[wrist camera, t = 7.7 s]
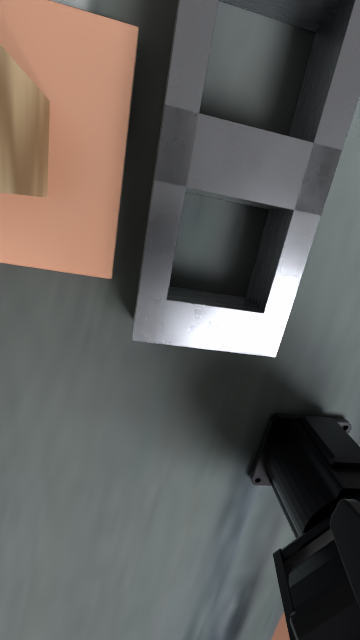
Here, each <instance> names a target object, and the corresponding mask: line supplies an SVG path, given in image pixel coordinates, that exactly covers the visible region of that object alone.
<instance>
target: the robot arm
mask: <svg viewBox="0 0 360 640" xmlns="http://www.w3.org/2000/svg"><path fill="white" fill-rule="evenodd" d="M277 420H279V421H278V422H276V421H277ZM351 427H352V426H351V424H350V423H349V422H348V421H347V420H346V419H336V418H330V417H317V416H299V415H286V414H274V415H273V416H271V418H270V420H269V422H268V425H267V428H266V431H265V434H264V437H263V440H262V443H261V446H260V449H259V452H258V455H257V458H256V461H255V464H254V467H253V469H252V472H251V475H250V478H251V481H252V483H253V484H254V485H268V486H272V488H273V490H274V492H275V494H276V497H277V499H278V501H279V503H280V505H281V507H282V509H283V512H284V514H285V516H286V518H287V520H288V522H289V524H290V527H291V529H292V531H293V533H294V535H295V537H296V539H295V540H294V541H293V542H291V543H290V544H288V545H287V546H286V547H284V548H283V549H279V550H277V551H276V552H274V553H273V557H274V562H275V567H276V573H277V578H278V583H279V588H280V593H281V598H282V602H283V607H284V612H285V617H286V623H287V627H288V632H289V636H290V640H360V447H359V446H358V445H357V443H356V442H355V441H354V440H353V439H352V438H351V437H350V436H349V435H348V434H349V432H350V430H351Z"/></svg>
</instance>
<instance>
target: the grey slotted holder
mask: <svg viewBox="0 0 360 640" xmlns="http://www.w3.org/2000/svg"><path fill="white" fill-rule="evenodd" d="M219 1H222V2H225V3H228V4H231V5H234V6H237V7H240V8H243V9H246V10H249V11H252V12H255V13H258V14H261V15H264V16H267V17H270V18H273V19H276V20H279V21H282V22H285V23H288V24H291V25H295V26H298V27H301V28H304V29H307V30H310V31H313V32H316V33H315V37H314V41H313V45H312V48H311V52H310V56H309V60H308V63H307V67H306V71H305V75H304V78H303V82H302V86H301V90H300V94H299V97H298V101H297V105H296V109H295V112H294V116H293V120H292V124H291V128H290V131H289V135H288V136H285V135H281V134H278V133H274V132H270V131H266V130H262V129H258V128H254V127H251V126H247V125H243V124H239V123H235V122H231V121H227V120H223V119H220V118H216V117H212V116H208V115H204V114H200V113H199V111H200V105H201V99H202V94H203V88H204V82H205V76H206V71H207V65H208V59H209V53H210V48H211V42H212V36H213V30H214V25H215V19H216V13H217V7H218V2H219ZM359 96H360V0H178V3H177V10H176V18H175V25H174V32H173V39H172V46H171V54H170V61H169V68H168V75H167V82H166V89H165V97H164V104H163V111H162V118H161V125H160V133H159V140H158V147H157V154H156V161H155V169H154V176H153V183H152V190H151V197H150V204H149V212H148V219H147V226H146V233H145V240H144V248H143V255H142V262H141V269H140V276H139V284H138V291H137V298H136V305H135V312H134V319H133V333H132V341H140V342H149V343H158V344H166V345H175V346H184V347H192V348H201V349H210V350H218V351H227V352H235V353H244V354H253V355H261V356H270V357H276V354H277V351H278V348H279V345H280V341H281V338H282V335H283V332H284V329H285V326H286V323H287V320H288V317H289V313H290V310H291V307H292V304H293V301H294V298H295V295H296V292H297V289H298V285H299V282H300V279H301V276H302V273H303V270H304V267H305V264H306V261H307V257H308V254H309V251H310V248H311V245H312V242H313V239H314V236H315V233H316V229H317V226H318V223H319V220H320V217H321V214H322V211H323V208H324V205H325V201H326V198H327V195H328V192H329V189H330V186H331V183H332V180H333V177H334V173H335V170H336V167H337V164H338V161H339V158H340V155H341V152H342V149H343V146H344V142H345V139H346V136H347V133H348V130H349V127H350V124H351V121H352V118H353V114H354V111H355V108H356V105H357V102H358V99H359ZM185 192H187V193H192V194H197V195H201V196H206V197H211V198H216V199H220V200H225V201H230V202H235V203H240V204H244V205H249V206H254V207H259V208H264V209H268V210H269V211H268V214H267V218H266V222H265V226H264V230H263V233H262V237H261V241H260V245H259V248H258V252H257V256H256V260H255V264H254V267H253V271H252V275H251V279H250V282H249V286H248V290H247V294H246V297H245V298H244V297H237V296H231V295H224V294H217V293H211V292H204V291H198V290H191V289H184V288H178V287H171V286H169V283H170V277H171V271H172V266H173V260H174V254H175V249H176V243H177V237H178V231H179V226H180V220H181V214H182V208H183V203H184V197H185Z"/></svg>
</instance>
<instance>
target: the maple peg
mask: <svg viewBox="0 0 360 640" xmlns="http://www.w3.org/2000/svg"><path fill="white" fill-rule="evenodd" d="M49 117H50V101H49V100H48V99H47V98H46V96H45V95H44V94H43V93H42V92H41V91H40V89H39V88H38V87H37V86H36V85H35V84H34V82H33V81H32V80H31V79H30V78H29V77H28V76H27V74H26V73H25V72H24V71H23V70H22V69H21V67H20V66H19V65H18V64H17V63H16V62H15V60H14V59H13V58H12V57H11V56H10V55H9V54H8V52H7V51H6V50H5V49H4V48H3V47H2V45H1V44H0V193H8V194H18V195H27V196H36V197H46V198H47V193H48V155H49Z"/></svg>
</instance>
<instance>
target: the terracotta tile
mask: <svg viewBox="0 0 360 640" xmlns="http://www.w3.org/2000/svg"><path fill="white" fill-rule="evenodd" d="M138 39H139V27H137V26H133V25H130V24H127V23H123V22H120V21H117V20H113V19H110V18H107V17H103V16H100V15H97V14H93V13H90V12H87V11H83V10H80V9H77V8H73V7H70V6H67V5H63V4H60V3H57V2H53V1H50V0H0V44H1V45H2V47H3V48H4V49H5V50H6V51H7V52H8V54H9V55H10V56H11V57H12V58H13V59H14V60H15V62H16V63H17V64H18V65H19V66H20V67H21V69H22V70H23V71H24V72H25V73H26V74H27V76H28V77H29V78H30V79H31V80H32V81H33V82H34V84H35V85H36V86H37V87H38V88H39V89H40V91H41V92H42V93H43V94H44V95H45V96H46V98H47V99H48V100H49V101H50V117H49V155H48V193H47V198H46V197H36V196H27V195H18V194H8V193H0V263H7V264H14V265H20V266H27V267H34V268H40V269H47V270H54V271H60V272H67V273H74V274H81V275H87V276H94V277H101V278H107V279H112V276H113V268H114V259H115V250H116V241H117V232H118V223H119V213H120V204H121V195H122V186H123V177H124V167H125V158H126V149H127V140H128V131H129V122H130V112H131V103H132V94H133V85H134V76H135V67H136V57H137V48H138Z"/></svg>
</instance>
